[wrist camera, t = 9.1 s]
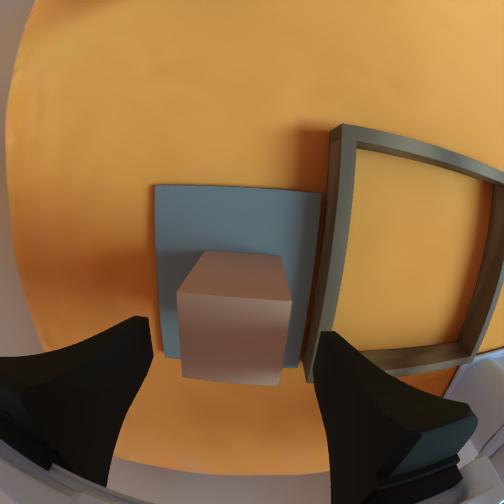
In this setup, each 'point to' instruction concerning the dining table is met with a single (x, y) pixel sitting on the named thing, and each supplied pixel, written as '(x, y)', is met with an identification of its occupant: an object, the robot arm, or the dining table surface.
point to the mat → (235, 244)
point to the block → (234, 318)
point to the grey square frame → (336, 236)
